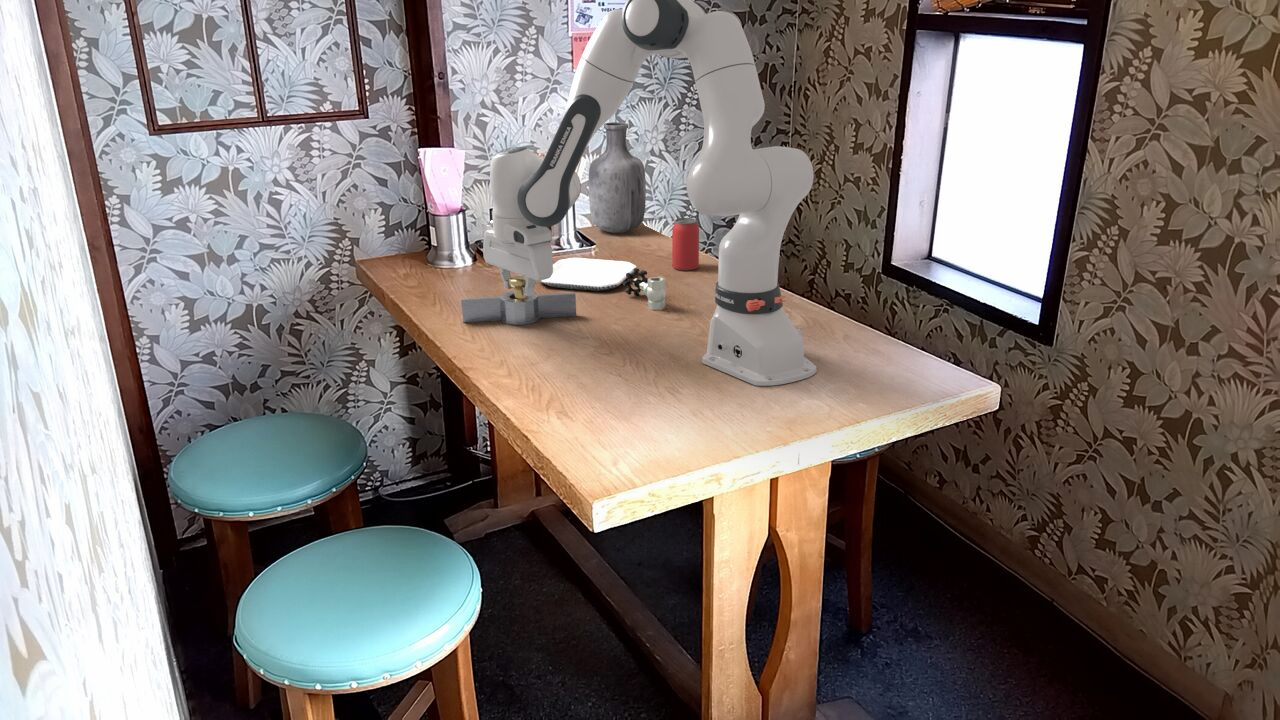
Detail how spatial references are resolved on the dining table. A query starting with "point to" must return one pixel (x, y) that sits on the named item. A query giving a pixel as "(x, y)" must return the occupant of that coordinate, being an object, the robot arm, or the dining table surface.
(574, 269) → the plate
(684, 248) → the beer can
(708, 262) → the dining table surface
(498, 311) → the hinge
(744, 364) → the robot arm
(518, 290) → the hinge pin
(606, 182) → the vase
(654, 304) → the valve
